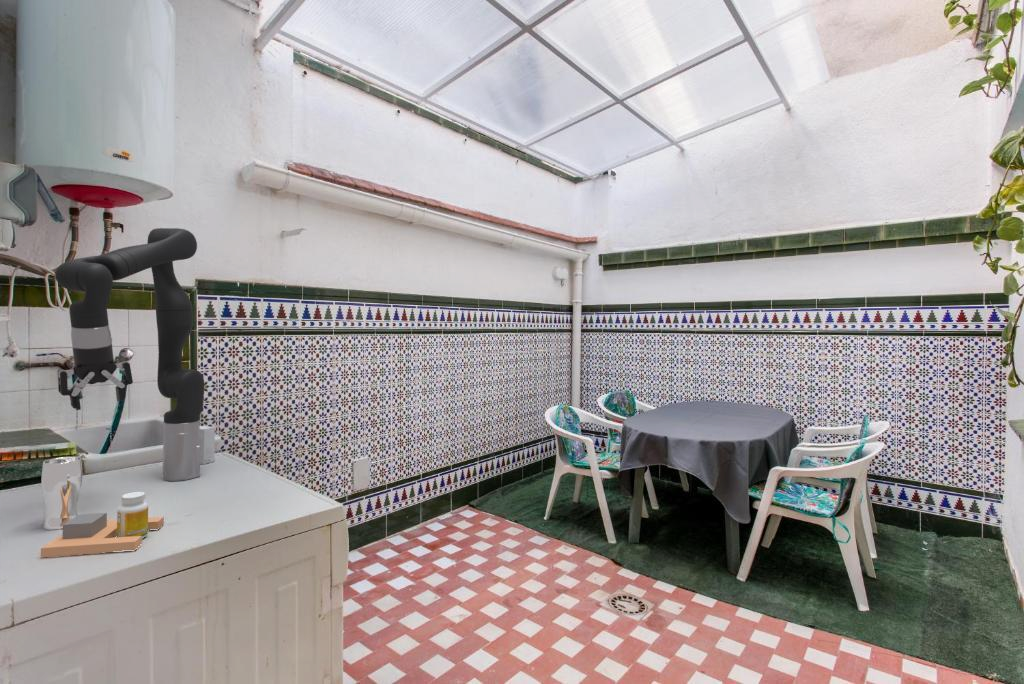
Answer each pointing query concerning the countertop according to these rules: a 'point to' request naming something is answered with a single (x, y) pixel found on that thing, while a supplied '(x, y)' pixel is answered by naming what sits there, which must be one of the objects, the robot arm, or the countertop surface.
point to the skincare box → (207, 444)
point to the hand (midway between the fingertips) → (99, 405)
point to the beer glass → (61, 490)
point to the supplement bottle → (132, 516)
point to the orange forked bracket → (93, 536)
